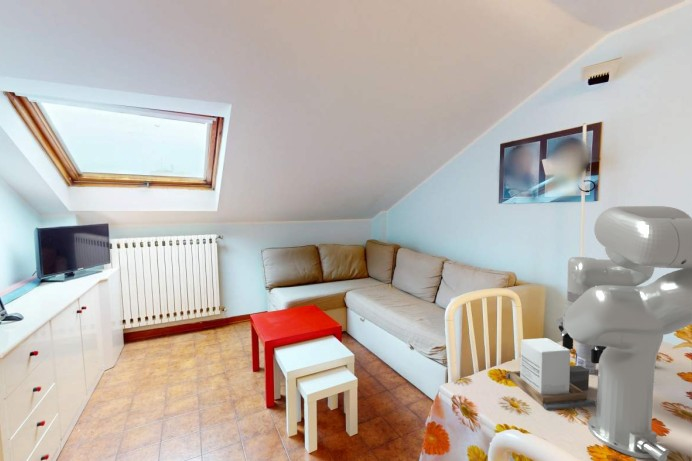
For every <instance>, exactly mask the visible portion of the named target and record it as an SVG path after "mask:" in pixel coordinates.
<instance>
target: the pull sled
mask: <svg viewBox="0 0 692 461" xmlns="http://www.w3.org/2000/svg"><path fill="white" fill-rule="evenodd" d="M509 373H510V379H509V380H510V381H511V382H513V384H515V385H516V386H517V387H518V388H520V389H521V390H522V391H523V392H525V393H526V394H527V395H528V396H529V397H530V398H532V399H533V400H534V401H536V403H538V404H539V405H540V406H541V407H543V405H544V403H553V402H564V401H575V400H587V399H588V393H587V392H585V391H588V390H589V386H590V385H589V384H590V383H589V381H590V374H589V370H587V369H586V368H584V367H582V366H575V365H570V377H569V393H568V394H556V395H544V396H543V395H542V394H541V393H539V392H538V391H537V390H535V389H534V388H533V387H532V386H530V385H529V384H528V383H526V382H525V381H524V380H523V379H521V378H520V370H517V371H516V370H514V371H509Z"/></svg>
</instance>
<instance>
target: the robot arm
mask: <svg viewBox="0 0 692 461" xmlns="http://www.w3.org/2000/svg"><path fill="white" fill-rule="evenodd" d="M593 227H594V228H593V229H594V235H595V238H596V240H597V241H598V243H600V244H601V246H603V247H604V251H605V253H606V255H607V257H608V258H609V259H602V258H601V259H597V258H593V257H587V256H586V257H583V256H575V257H573V256H572V257H570V258H569V259H568V260H567V261H568V262H567V291H566V292H567V294H566V301H565V304H564V309H563V317H560V318H557V319H556V324H557V326H558V329H559V331H560V335H561V337H562V345H561V346H563V347H565V348H567V349H569V350H573V349H574V342H576V341H577V342H579V343H582V344H587V345H592V346H593V348H594V349H592V350H591V362H592V363H594V364H596V365H597V364H598V371H597V372H598V374H597V388H596V390H597V393H596V412H595V413H596V415H594V416H590V418H588V420H587V428H588V430H589V432H590V433H591V435H593V437H595V438H596V439H597V440H598V441H600V442H601V443H603V444H604V445H605V446H607V447H609V448H610V449H613V450H615V451H617V452H619V453H621V454H624V455H627V456H629V457H635V458H638V459H639V458H640V459H656V460H657V461H667V459H668V455H669V454H670V450H669V449H668V448H667V447H665V446H664V445H662V444H660V443H659V442H658V441H657V432H655V431H654V430H652V419H653V418H652V416H653V401H654V399H653V398H654V383H655V372H656V370H655V369H656V362H657V357H658V354H659V350H660V349H661V345H662V343H663V338H664V336H665V335H669V334H672V333H675V332H677V331H680V330H682V329H684V328H687V327H689V326H691V325H692V217H691V216H690V215H689V214H688V213H687V212H686V211H683V210H681V209H679V208H677V207H676V208H675V207H671V206H665V205H663V206H662V205H646V206H645V205H644V206H643V205H638V206H637V205H635V206H633V205H629V206H628V205H627V206H626V205H625V206H623V205H621V206H613V207H609V208H607V209H605V210H603V211H602V212H601V213H600V214H599V215H598V217H597V219H596V220H595V223H594V226H593ZM655 268H659V269H661V268H662V269H678V270H674V271H671V272H669V273H666V274H663V275H662V276H660V277H658V278H657V279H656V280H655V281H653V282H651V283H649V284H647V285H645V286H644V285H642V284H644V283H646V282H647V281H649V280H650V279H651V278H652V277H653V275H654V271H655ZM641 285H642V286H641Z"/></svg>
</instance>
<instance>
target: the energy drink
mask: <svg viewBox="0 0 692 461" xmlns="http://www.w3.org/2000/svg"><path fill="white" fill-rule="evenodd" d="M575 342H576V343H575V345H576V346H575V347H576V348H575V365H574V366H582V367H584V368H586V369H587V370H589V375H590V374H595V373H596V369H597V368H596V367H597V364H594V363H592V362H591V350H592V349H594V348H593V346H592V345H587V344H582V343H579V342H577V341H575Z"/></svg>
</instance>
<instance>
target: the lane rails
mask: <svg viewBox="0 0 692 461" xmlns="http://www.w3.org/2000/svg"><path fill="white" fill-rule="evenodd" d="M505 377H506V378H507V379H509V380H510V372H508V373H506V374H505ZM593 406H596V407H597V400H595V399H593V398H587V400H575V401H564V402H553V403H544V405H543V406H542V407H543V409H544V410H546V411H550V410H560V409H561V410H563V409H572V408H584V407H593Z"/></svg>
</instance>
